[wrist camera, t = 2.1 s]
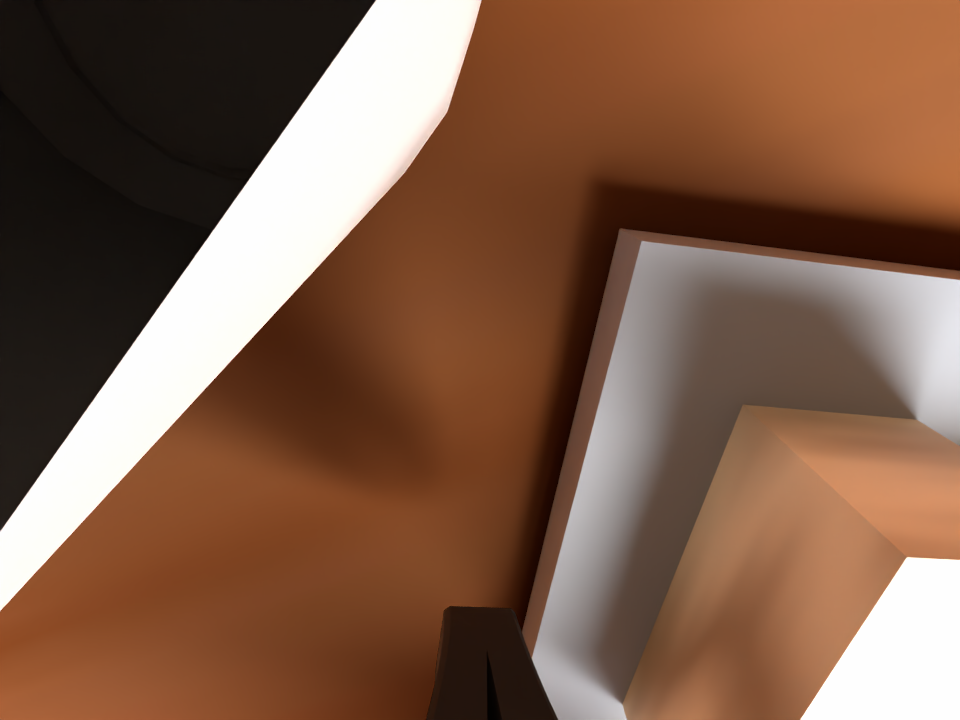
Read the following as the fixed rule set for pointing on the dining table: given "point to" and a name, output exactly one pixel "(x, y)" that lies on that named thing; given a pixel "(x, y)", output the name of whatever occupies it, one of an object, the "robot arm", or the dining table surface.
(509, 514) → the dining table surface
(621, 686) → the board
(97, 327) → the can
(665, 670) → the block
